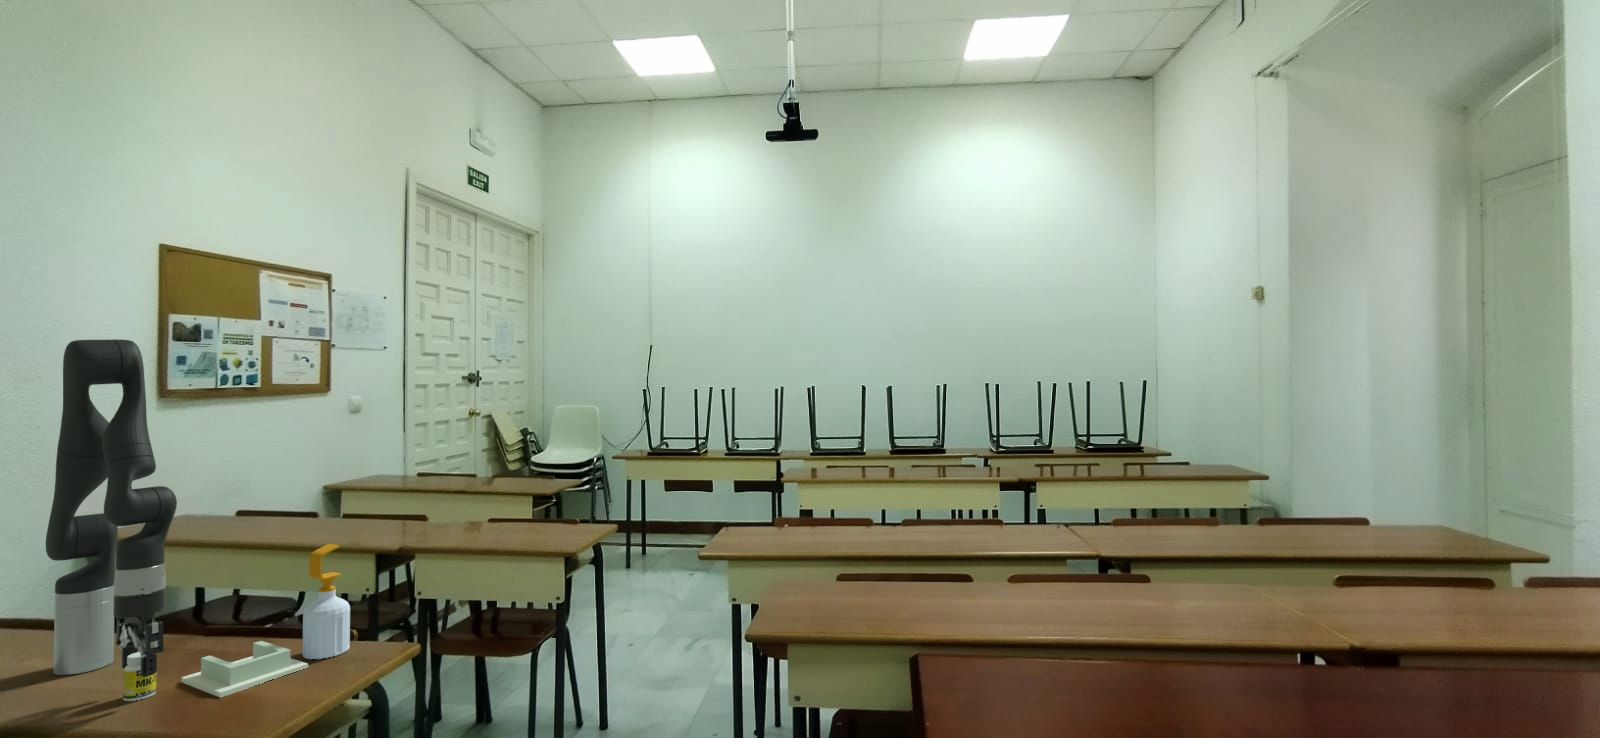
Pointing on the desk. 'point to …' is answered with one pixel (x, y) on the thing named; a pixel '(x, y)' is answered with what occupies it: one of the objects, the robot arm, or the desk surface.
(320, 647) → the soap bottle
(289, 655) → the u rest
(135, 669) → the supplement bottle
